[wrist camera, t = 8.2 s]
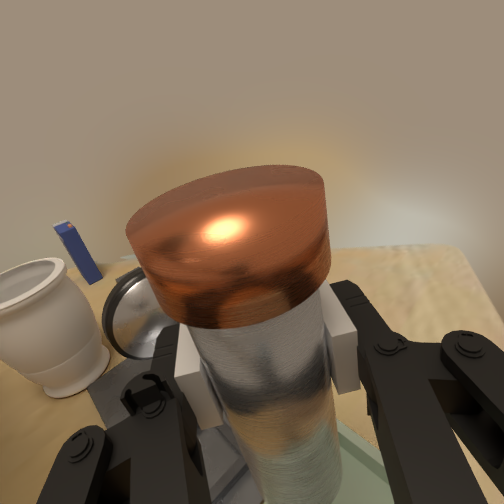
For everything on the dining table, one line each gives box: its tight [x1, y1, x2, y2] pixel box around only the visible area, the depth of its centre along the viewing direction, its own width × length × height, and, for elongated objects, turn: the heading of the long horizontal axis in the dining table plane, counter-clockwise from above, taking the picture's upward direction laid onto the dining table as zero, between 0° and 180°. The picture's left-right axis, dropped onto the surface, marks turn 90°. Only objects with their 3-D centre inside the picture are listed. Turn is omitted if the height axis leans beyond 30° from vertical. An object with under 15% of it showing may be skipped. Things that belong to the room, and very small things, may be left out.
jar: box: [0, 258, 110, 398], centre depth 37 cm, size 11×10×15 cm
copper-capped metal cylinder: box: [126, 165, 342, 504], centre depth 11 cm, size 5×5×13 cm
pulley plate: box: [86, 267, 265, 504], centre depth 30 cm, size 24×16×14 cm, turn 43°
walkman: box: [52, 220, 103, 285], centre depth 61 cm, size 8×3×12 cm, turn 42°
